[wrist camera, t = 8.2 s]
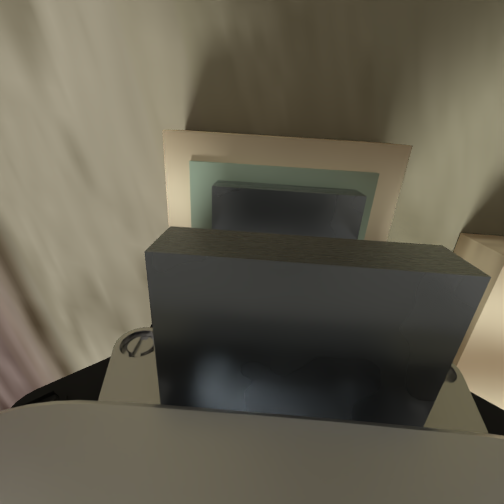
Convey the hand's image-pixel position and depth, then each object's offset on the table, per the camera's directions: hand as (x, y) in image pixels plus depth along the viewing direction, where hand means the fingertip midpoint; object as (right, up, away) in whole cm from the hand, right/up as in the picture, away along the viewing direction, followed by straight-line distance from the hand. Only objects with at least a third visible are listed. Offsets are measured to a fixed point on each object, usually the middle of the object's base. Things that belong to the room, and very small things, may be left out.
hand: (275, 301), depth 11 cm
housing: (0, 0, +1) cm, 1 cm away
